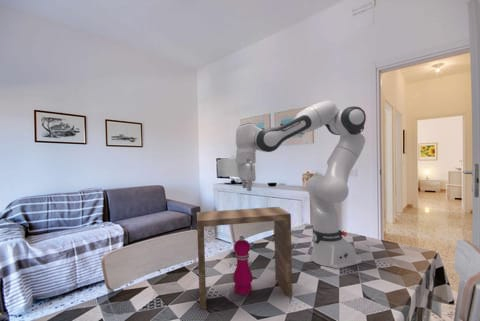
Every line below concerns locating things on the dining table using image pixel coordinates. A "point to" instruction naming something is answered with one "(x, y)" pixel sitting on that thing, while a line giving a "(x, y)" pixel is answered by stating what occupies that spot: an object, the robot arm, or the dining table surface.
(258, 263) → the dining table surface
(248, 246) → the pepper mill
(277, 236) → the arch
